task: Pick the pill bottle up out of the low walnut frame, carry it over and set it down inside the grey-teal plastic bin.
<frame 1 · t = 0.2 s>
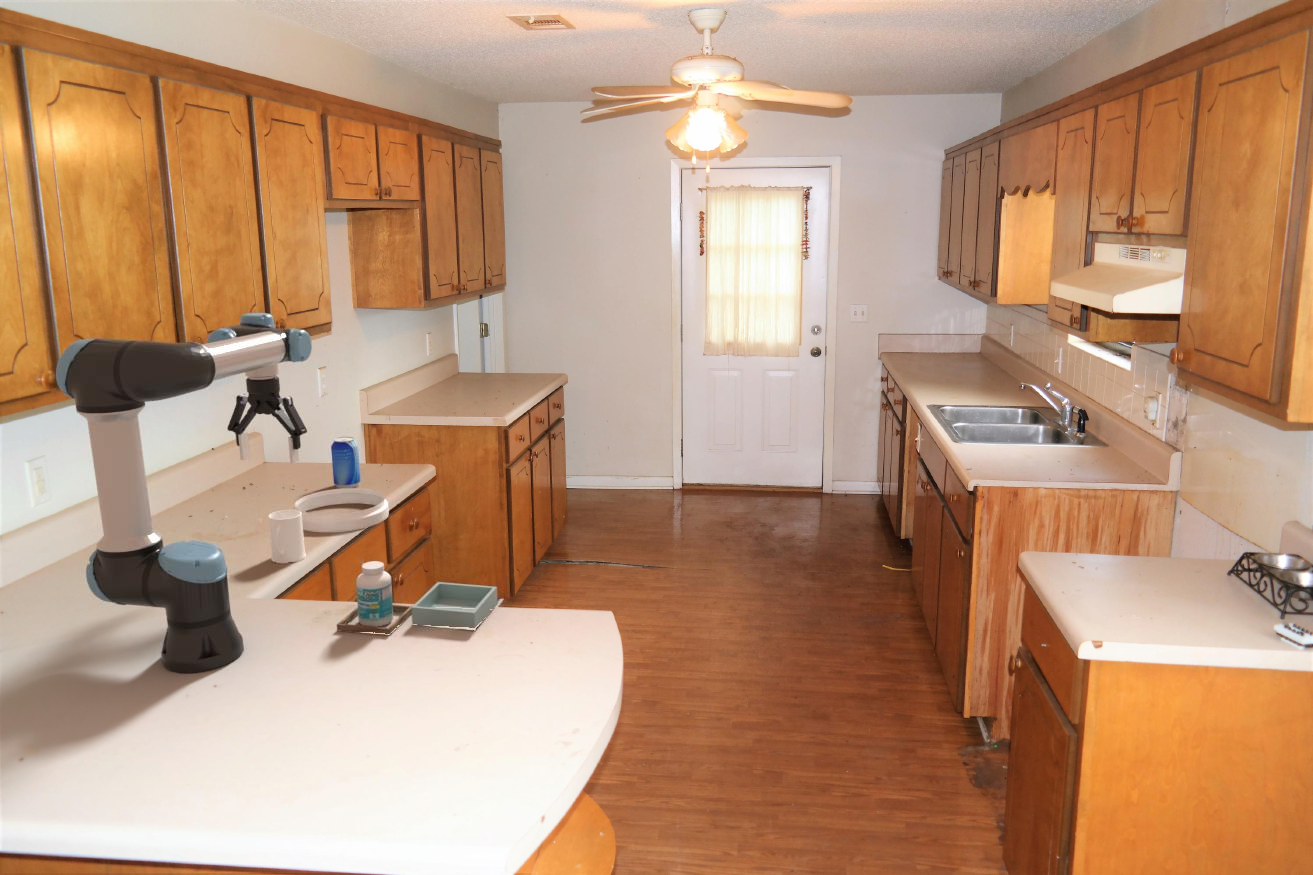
hand: (269, 460, 232), 28 cm above the counter, fingers open, 13 cm apart
pill bottle: (376, 622, 207), resting in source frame
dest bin: (456, 614, 211), on the counter
white hollow ring: (341, 518, 276), on the counter
mug: (286, 560, 242), on the counter
beer can: (347, 486, 307), on the counter
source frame: (376, 621, 206), on the counter
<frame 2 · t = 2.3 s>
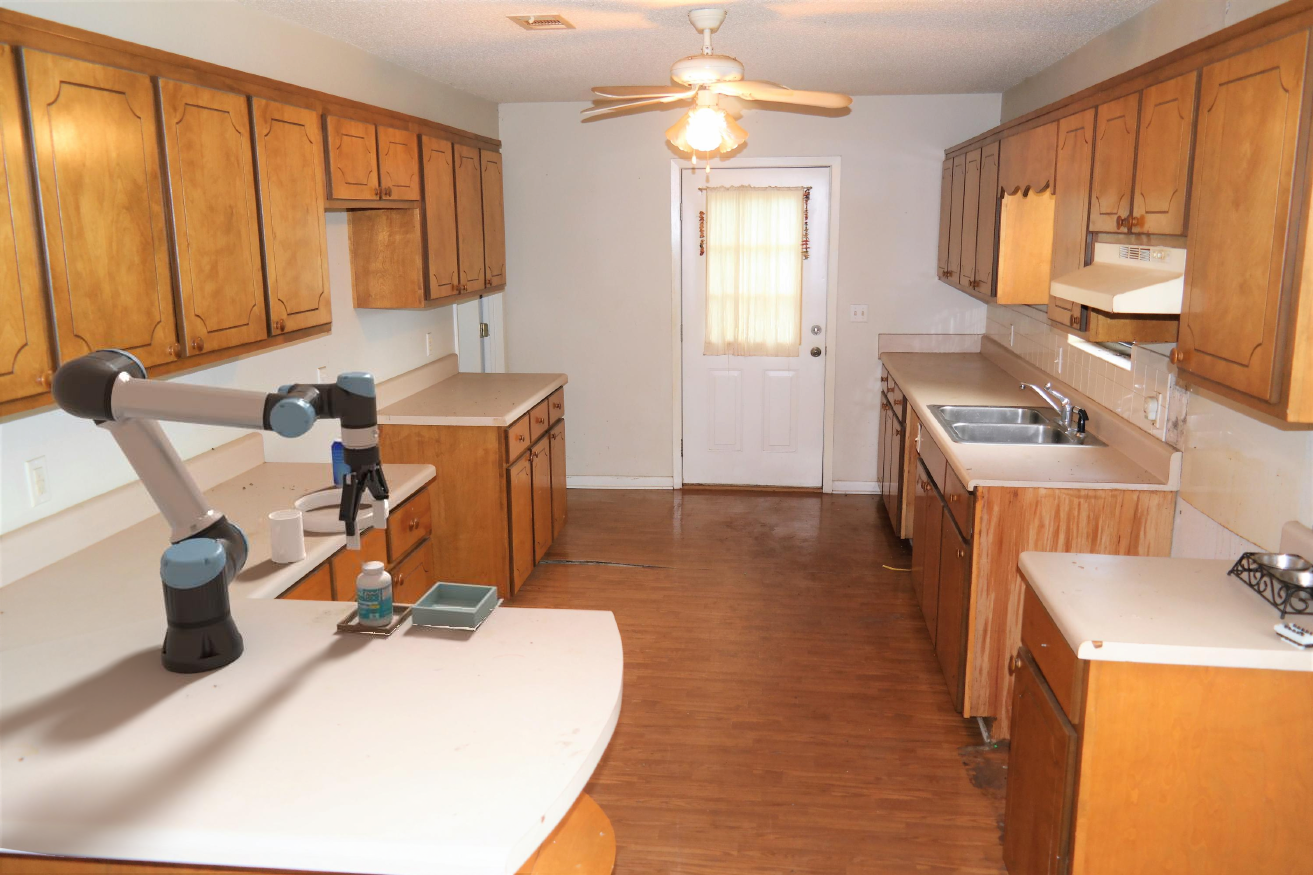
hand: (367, 538, 203), 19 cm above the counter, fingers open, 13 cm apart
nothing on the counter moved.
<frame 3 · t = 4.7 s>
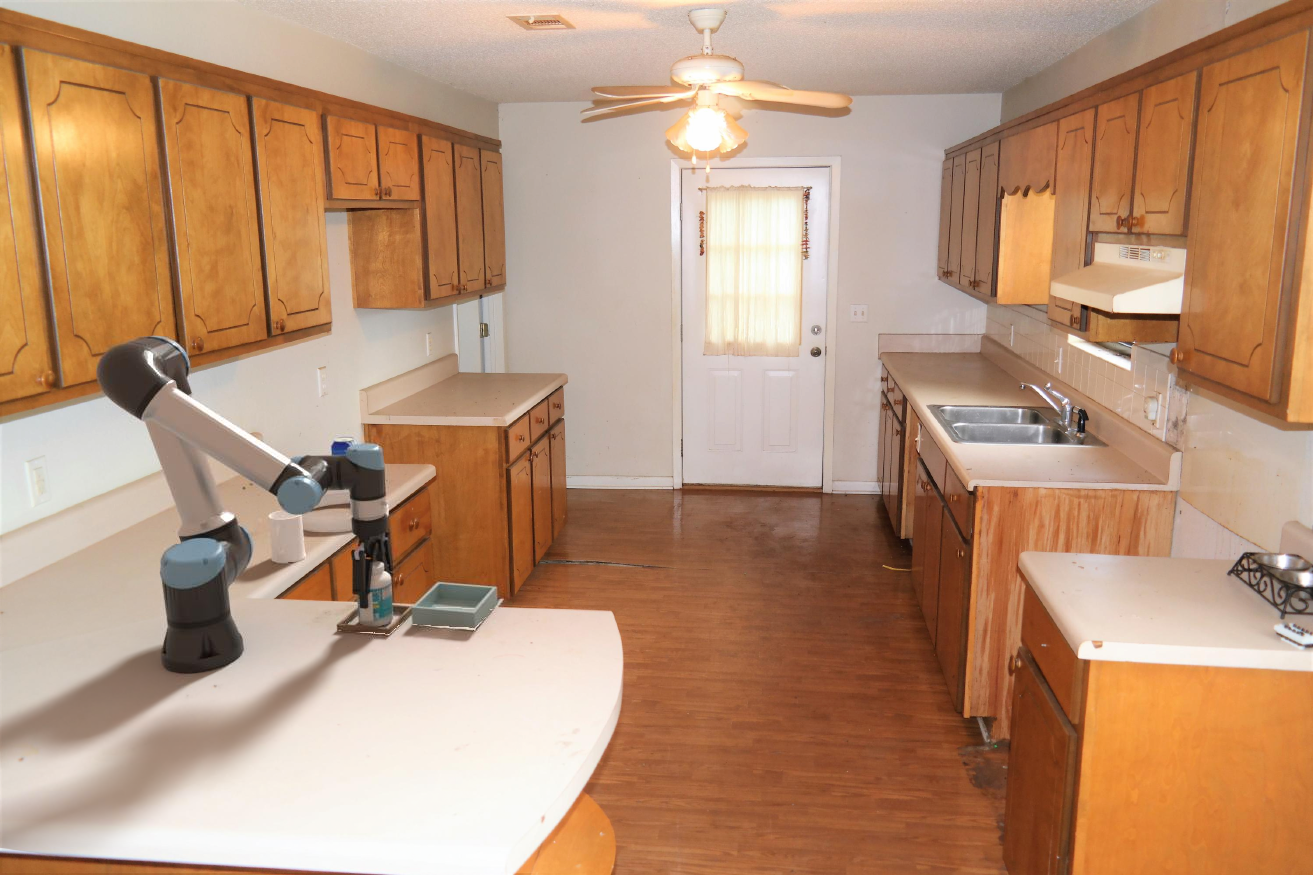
hand: (375, 612, 206), 2 cm above the counter, fingers closed on pill bottle, 7 cm apart
pill bottle: (376, 622, 207), resting in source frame, touching gripper
everything else where it was.
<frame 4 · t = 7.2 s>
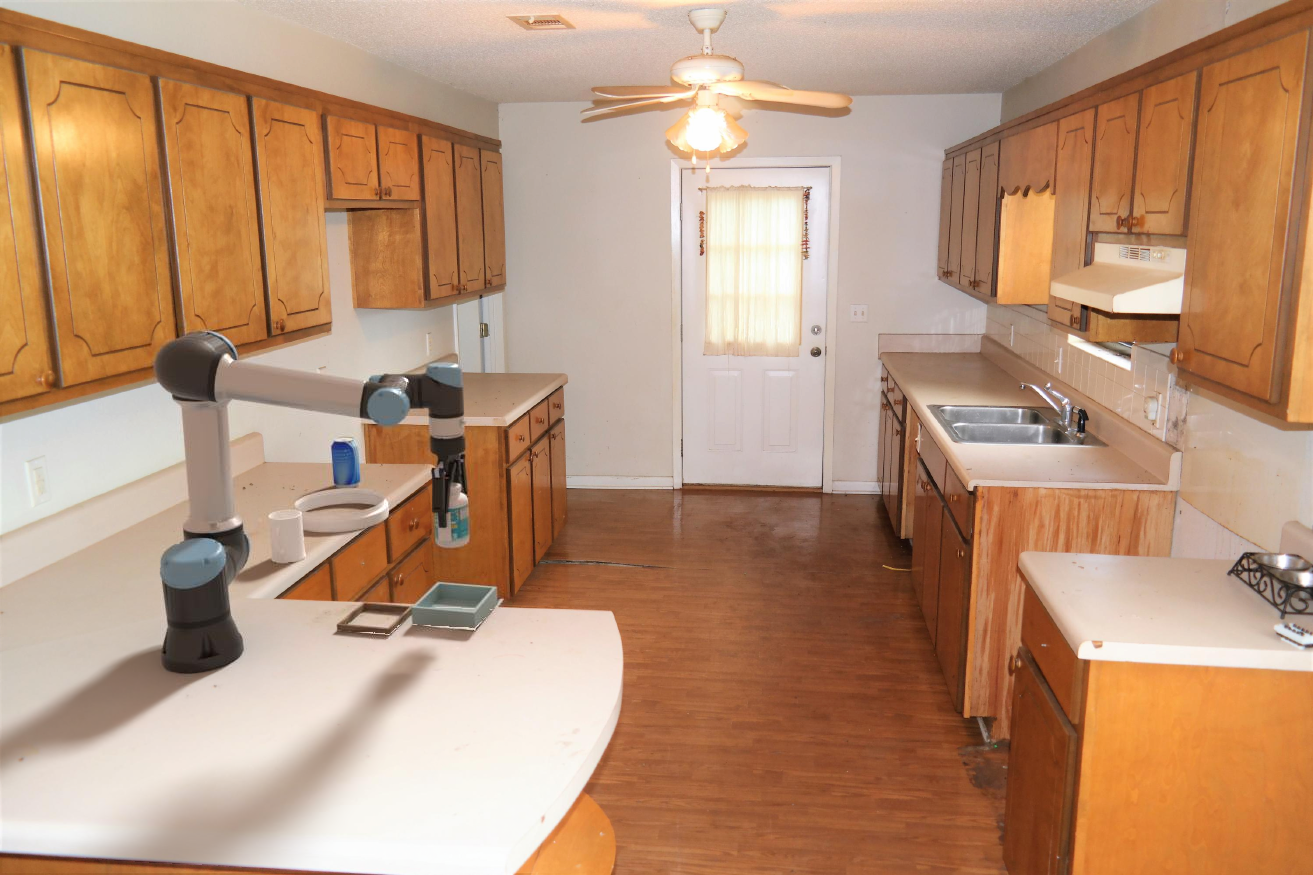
hand: (452, 534, 206), 19 cm above the counter, fingers closed on pill bottle, 7 cm apart
pill bottle: (452, 544, 206), point 17 cm above the counter, touching gripper
everything else where it was.
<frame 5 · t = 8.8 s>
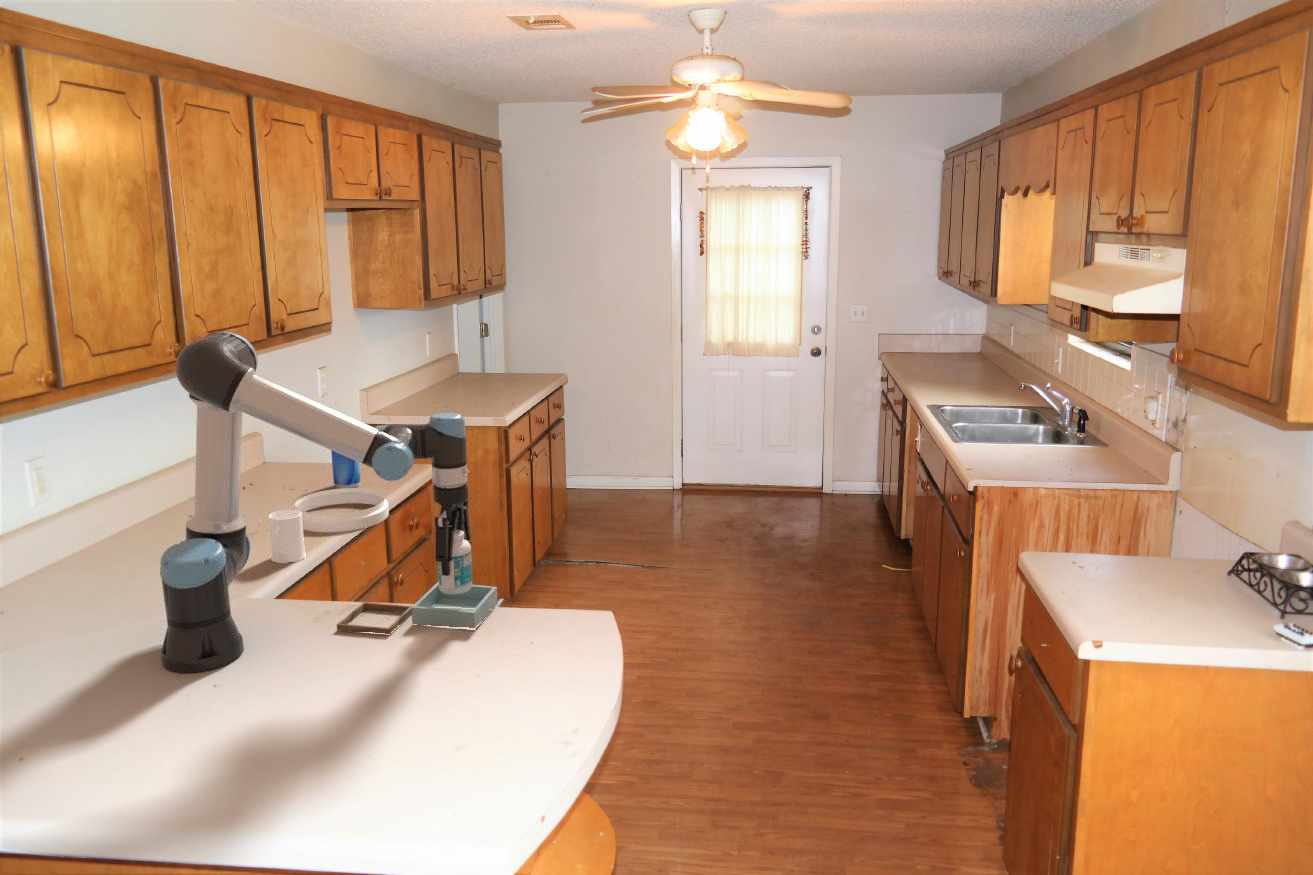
hand: (455, 580, 209), 8 cm above the counter, fingers closed on pill bottle, 7 cm apart
pill bottle: (455, 589, 209), point 6 cm above the counter, touching gripper
everything else where it was.
when the fingers open (5 cm above the counter, at t = 9.8 s): pill bottle drops 2 cm, resting on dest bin.
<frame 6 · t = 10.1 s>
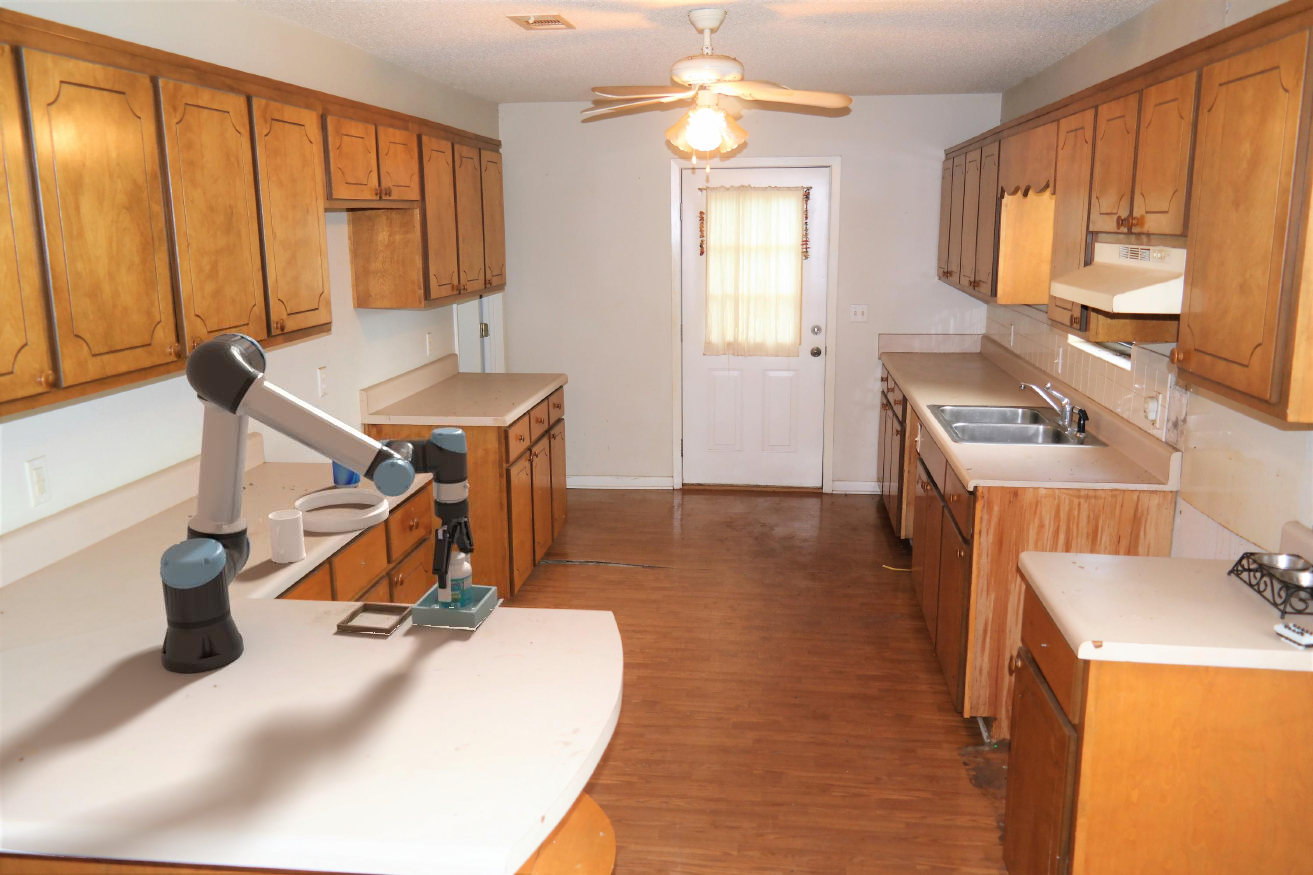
hand: (455, 590, 209), 6 cm above the counter, fingers open, 11 cm apart
pill bottle: (455, 611, 210), point 1 cm above the counter, touching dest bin
everything else where it was.
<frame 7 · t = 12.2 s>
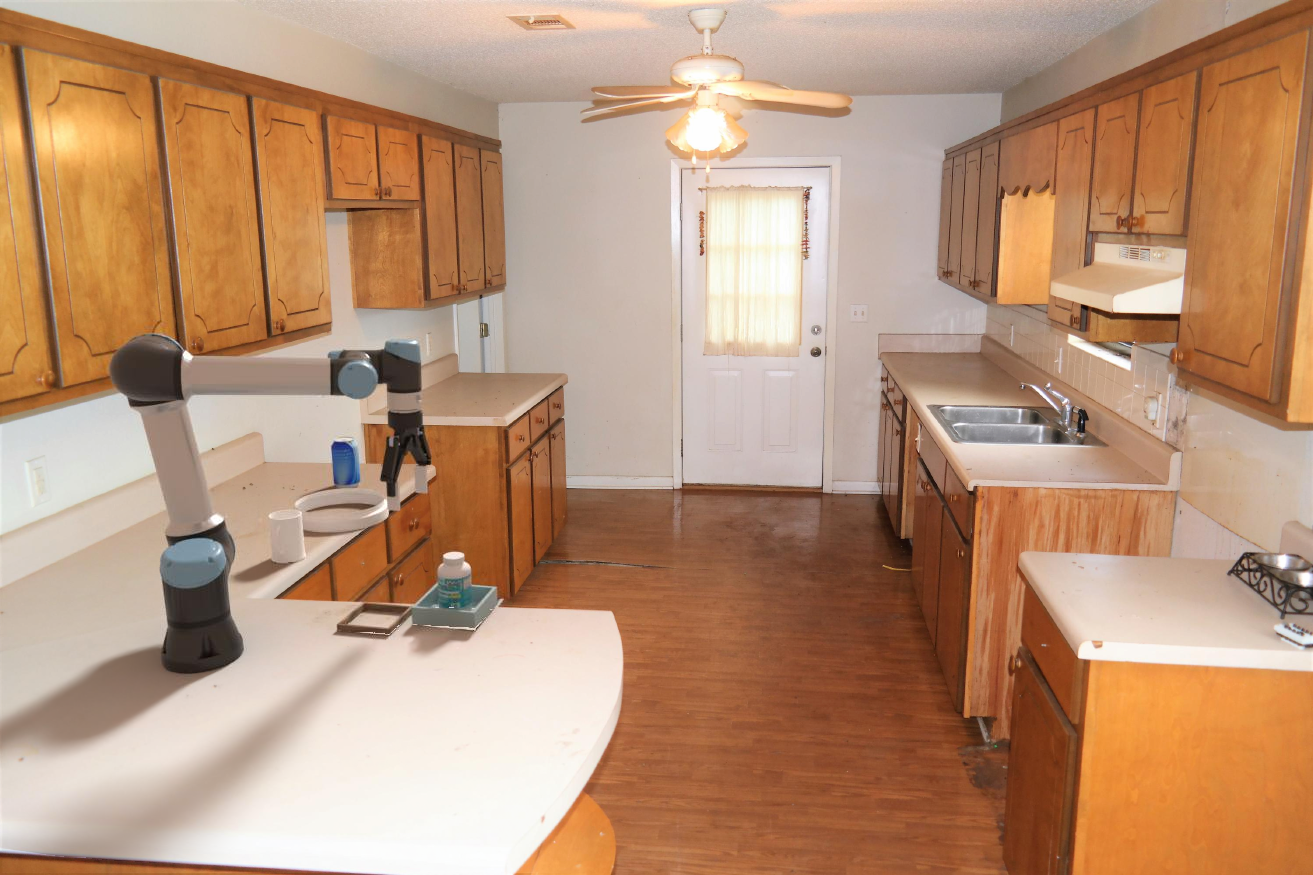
hand: (408, 501, 210), 25 cm above the counter, fingers open, 13 cm apart
nothing on the counter moved.
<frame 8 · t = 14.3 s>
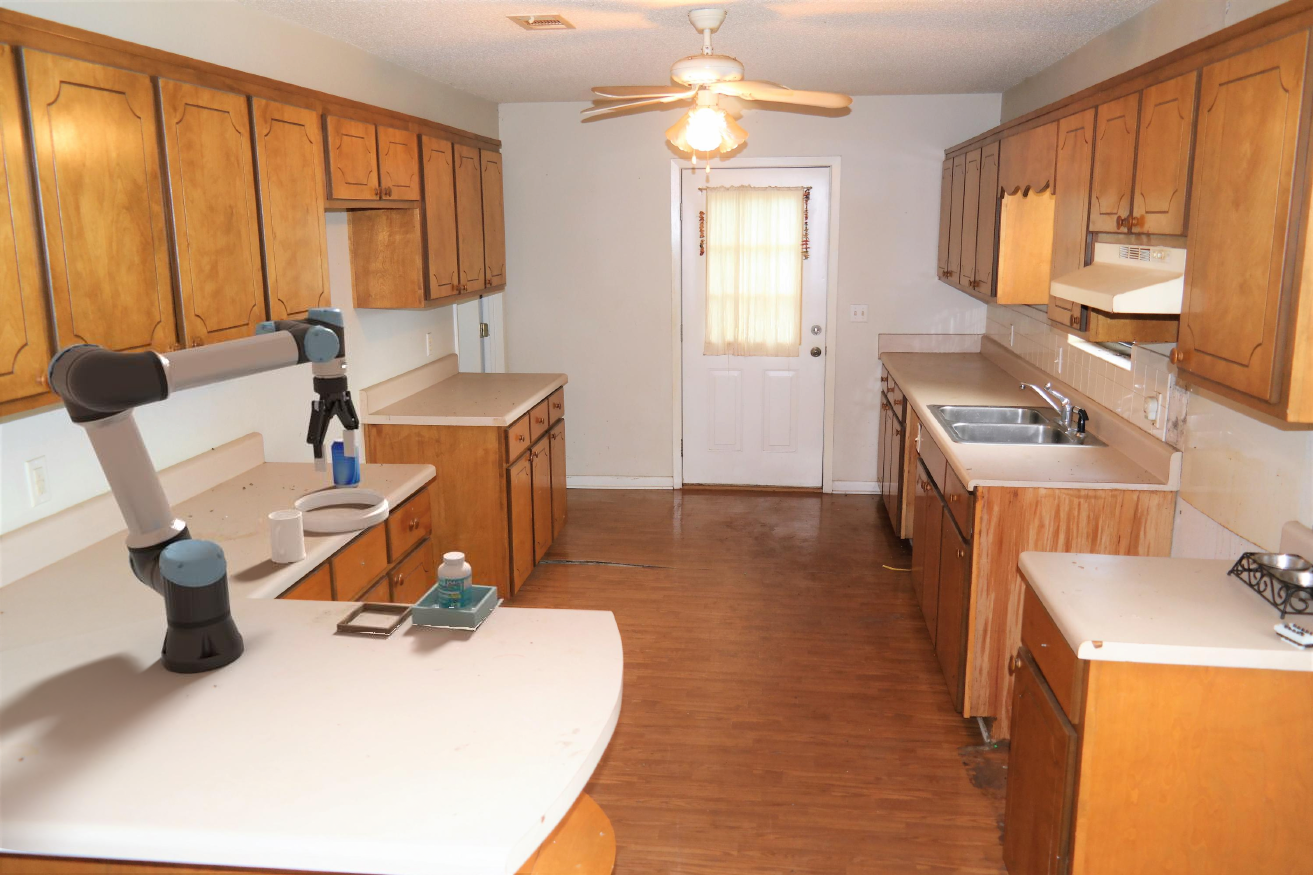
hand: (336, 463, 219), 31 cm above the counter, fingers open, 13 cm apart
nothing on the counter moved.
at the end: pill bottle inside the target area on the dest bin (0.0 cm from its centre), point 0.6 cm above the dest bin's base; pill bottle tilted 0°; the gripper is holding nothing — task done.
